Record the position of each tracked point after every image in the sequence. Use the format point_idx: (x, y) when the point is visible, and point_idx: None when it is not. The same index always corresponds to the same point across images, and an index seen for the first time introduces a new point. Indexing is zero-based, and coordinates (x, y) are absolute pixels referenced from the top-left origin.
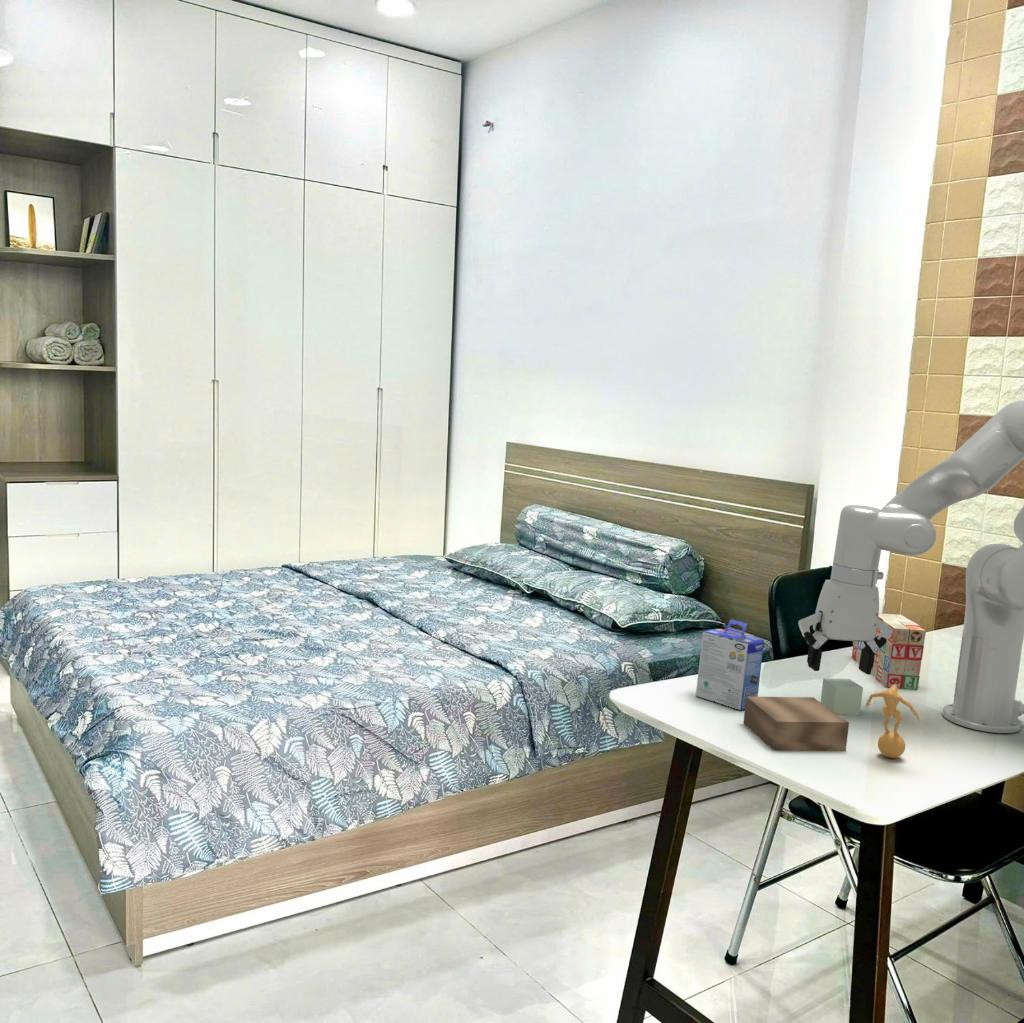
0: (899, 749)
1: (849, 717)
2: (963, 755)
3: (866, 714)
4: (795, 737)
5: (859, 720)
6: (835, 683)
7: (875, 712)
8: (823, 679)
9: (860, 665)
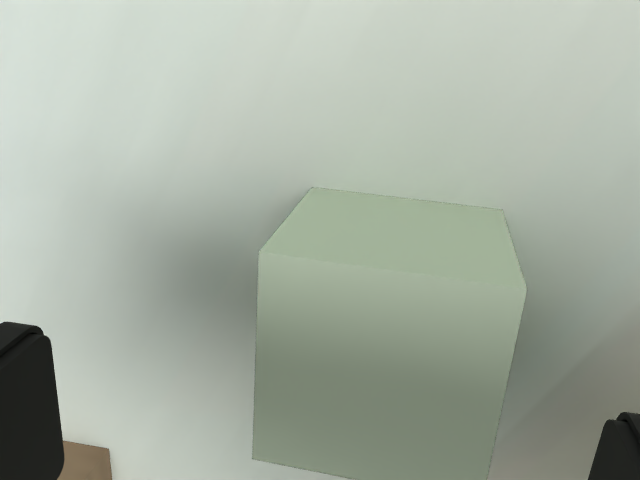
0: None
1: None
2: None
3: (520, 378)
4: None
5: None
6: (293, 390)
7: (618, 356)
8: (260, 255)
9: (616, 476)
